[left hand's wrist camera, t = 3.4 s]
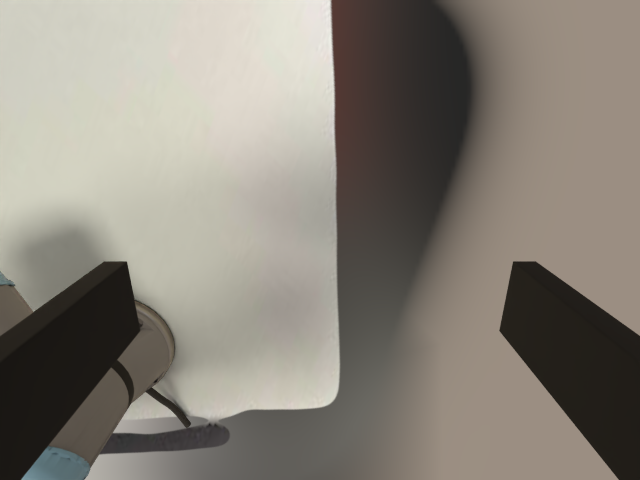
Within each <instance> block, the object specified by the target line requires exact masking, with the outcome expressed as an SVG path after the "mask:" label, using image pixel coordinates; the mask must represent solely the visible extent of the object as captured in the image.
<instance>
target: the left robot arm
mask: <svg viewBox="0 0 640 480" xmlns="http://www.w3.org/2000/svg"><path fill="white" fill-rule="evenodd" d="M14 286H15V284H14V283H13V282H12V281H10V280H8V279H7V278H6V277H5V276H4V275H3V274H2V273H1V271H0V480H84V479H85V478H86V477H87V476H88V474H89V471H90V468H91V466H92V465H93V463H94V462H95V460H96V458H97V457H98V455H99V454H100V452H101V450H102V449H103V447H104V446H105V444H106V442H107V441H108V439H109V438H110V436H111V435H112V433H113V431H114V430H115V428H116V427H117V425H118V423H119V422H120V420H121V419H122V417H123V415H124V414H125V412H126V411H127V409H128V408H129V406H130V404H131V403H132V402H133V401H135V400H136V399H137V398H139V397H140V396H141V395H142V394H143V393H144V392H147V393H148V394H149V395H151V396H152V397H153V398H155V399H156V400H157V401H159V402H160V403H162V404H163V405H165V406H166V407H168V408H169V409H170V410H171V411H172V412H173V413H174V414H175V415H176V416H177V417H178V418H179V419H180V421H181V422H182V423H183V424H184V426H185V427H186V428H187V427H189V426H190V425H191V423H190V421H189V420H188V419H187V418H186V416H185V415H184V414H183V412H182V411H181V410H180V409H179V408H178V407H177V406H176V405H175V404H174V403H172V402H171V401H169V400H168V399H166V398H165V397H164V396H162V395H161V394H160V393H158V392H157V391H156V390H154V389H153V388H152V386H154V385H155V384H156V383H158V382H159V381H160V380H161V379H162V378H163V376H164V375H165V373H166V371H167V370H168V368H169V366H170V365H171V362H172V360H173V357H174V341H173V337H172V334H171V332H170V330H169V328H168V326H167V325H166V323H165V322H164V321H163V320H162V319H161V317H160V316H159V315H157V314H156V313H155V312H154V311H153V310H151V309H150V308H148V307H147V306H145V305H143V304H141V303H139V302H137V301H135V300H134V295H133V290H132V285H131V280H130V275H129V270H128V265H127V262H103V263H102V264H100V265H99V266H97V267H96V268H95V269H93V270H92V271H90V272H89V273H88V274H86V275H85V276H83V277H82V278H81V279H79V280H78V281H76V282H75V283H74V284H72V285H71V286H69V287H68V288H67V289H65V290H64V291H62V292H61V293H60V294H58V295H57V296H55V297H54V298H53V299H51V300H50V301H48V302H47V303H46V304H44V305H43V306H41V307H40V308H39V309H37V310H36V311H34V312H33V311H32V310H31V308H30V307H29V306H28V304H27V303H26V302H25V300H24V299H23V298H22V296H21V295H20V294H19V293H18V291H17V290H16V289H15V287H14ZM500 332H501V333H502V335H503V336H504V337H505V338H506V340H507V341H508V342H509V343H510V345H511V346H512V347H513V348H514V349H515V351H516V352H517V353H518V355H519V356H520V357H521V358H522V360H523V361H524V362H525V363H526V364H527V366H528V367H529V368H530V370H531V371H532V372H533V373H534V375H535V376H536V377H537V378H538V379H539V381H540V382H541V383H542V384H543V386H544V387H545V388H546V389H547V391H548V392H549V393H550V394H551V396H552V397H553V398H554V399H555V401H556V402H557V403H558V404H559V406H560V407H561V408H562V409H563V411H564V412H565V413H566V414H567V416H568V417H569V418H570V419H571V421H572V422H573V423H574V424H575V426H576V427H577V428H578V429H579V430H580V432H581V433H582V434H583V436H584V437H585V438H586V439H587V441H588V442H589V443H590V444H591V446H592V447H593V448H594V449H595V451H596V452H597V453H598V454H599V455H600V457H601V458H602V459H603V460H604V462H605V463H606V464H607V465H608V467H609V468H610V469H611V470H612V472H613V473H614V474H615V475H616V477H617V478H618V479H619V480H640V336H639V335H638V334H636V333H635V332H634V331H632V330H631V329H629V328H628V327H627V326H625V325H624V324H622V323H621V322H619V321H618V320H617V319H615V318H614V317H613V316H611V315H610V314H608V313H607V312H606V311H604V310H603V309H601V308H600V307H599V306H597V305H596V304H594V303H593V302H591V301H590V300H589V299H587V298H586V297H585V296H583V295H582V294H580V293H579V292H578V291H576V290H575V289H573V288H572V287H571V286H569V285H568V284H566V283H565V282H564V281H562V280H561V279H559V278H558V277H557V276H555V275H554V274H552V273H551V272H550V271H548V270H547V269H545V268H544V267H543V266H541V265H540V264H538V263H537V262H513V265H512V270H511V275H510V280H509V285H508V290H507V295H506V300H505V305H504V310H503V315H502V321H501V326H500Z"/></svg>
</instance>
